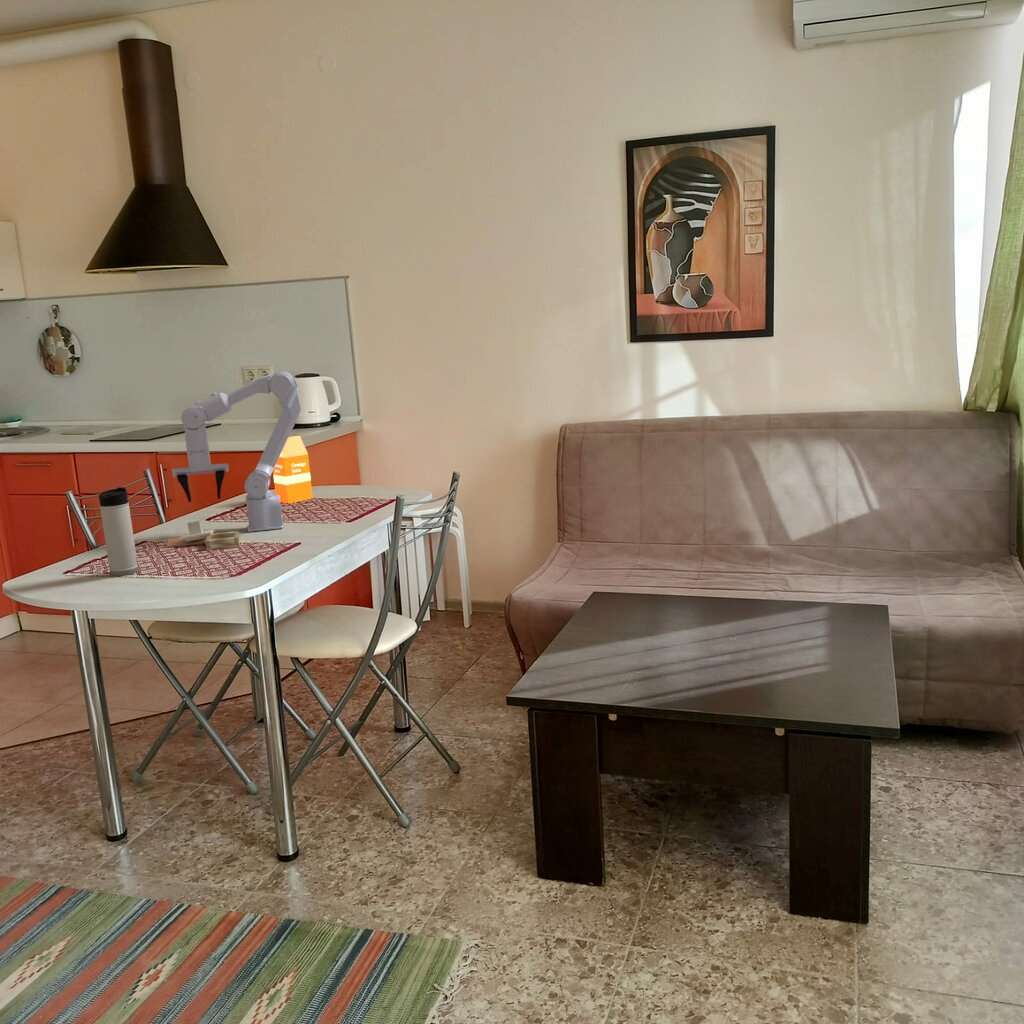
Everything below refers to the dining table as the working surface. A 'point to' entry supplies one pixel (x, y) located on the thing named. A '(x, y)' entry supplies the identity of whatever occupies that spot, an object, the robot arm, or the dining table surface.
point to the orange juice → (293, 472)
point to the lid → (195, 532)
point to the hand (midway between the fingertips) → (204, 499)
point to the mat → (183, 542)
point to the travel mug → (118, 532)
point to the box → (222, 540)
